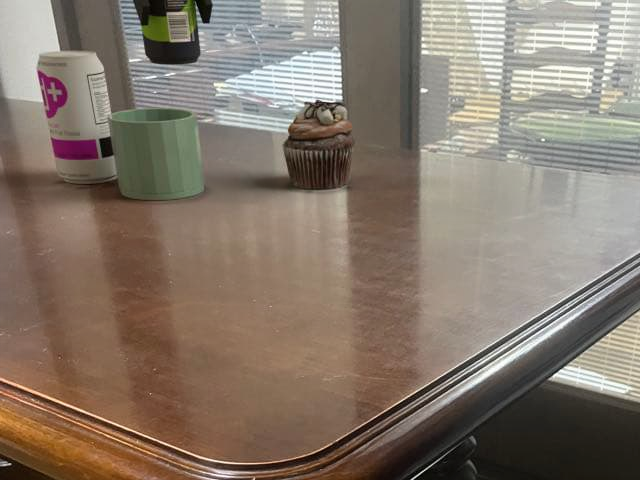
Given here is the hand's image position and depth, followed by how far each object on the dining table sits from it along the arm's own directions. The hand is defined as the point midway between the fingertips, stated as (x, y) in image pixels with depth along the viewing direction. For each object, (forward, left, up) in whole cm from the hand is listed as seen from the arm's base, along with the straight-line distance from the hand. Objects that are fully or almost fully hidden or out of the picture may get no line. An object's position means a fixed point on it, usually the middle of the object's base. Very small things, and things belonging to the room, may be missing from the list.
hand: (176, 14), depth 96 cm
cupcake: (+8, +18, -21) cm, 28 cm away
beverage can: (-3, +2, -5) cm, 6 cm away
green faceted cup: (-9, +6, -20) cm, 23 cm away
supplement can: (-22, +8, -21) cm, 31 cm away
